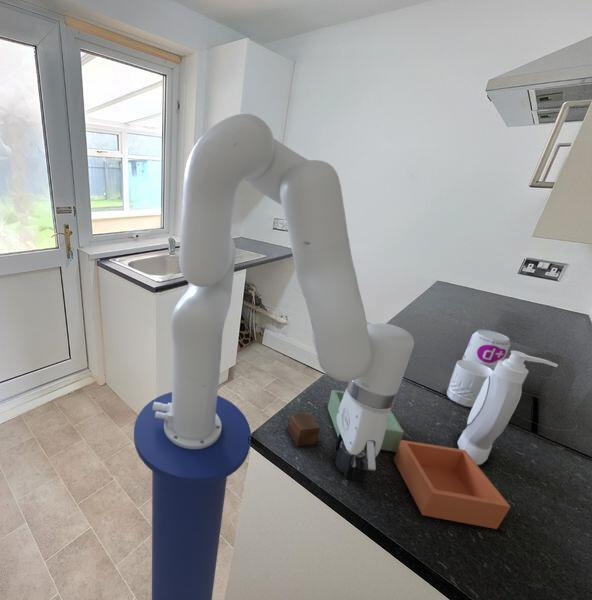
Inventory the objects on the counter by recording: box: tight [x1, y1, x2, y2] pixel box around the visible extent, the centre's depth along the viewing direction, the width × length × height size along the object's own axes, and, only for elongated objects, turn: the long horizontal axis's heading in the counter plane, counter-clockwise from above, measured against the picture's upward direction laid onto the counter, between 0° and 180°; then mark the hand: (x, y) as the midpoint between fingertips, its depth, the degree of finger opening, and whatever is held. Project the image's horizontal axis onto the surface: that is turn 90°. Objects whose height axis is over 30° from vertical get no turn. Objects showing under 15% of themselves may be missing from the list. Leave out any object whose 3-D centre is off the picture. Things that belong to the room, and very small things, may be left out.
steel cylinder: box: [334, 440, 365, 475], centre depth 61 cm, size 4×4×5 cm
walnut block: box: [287, 412, 321, 447], centre depth 68 cm, size 4×4×4 cm
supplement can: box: [461, 329, 511, 371], centre depth 92 cm, size 8×8×15 cm
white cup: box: [446, 359, 493, 408], centre depth 83 cm, size 8×8×10 cm
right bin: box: [393, 439, 511, 530], centre depth 57 cm, size 12×12×6 cm
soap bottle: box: [457, 350, 559, 466], centre depth 63 cm, size 13×8×24 cm, turn 139°
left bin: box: [327, 389, 405, 453], centre depth 72 cm, size 12×12×6 cm
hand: (348, 464), depth 62 cm, fingers open, 6 cm apart
